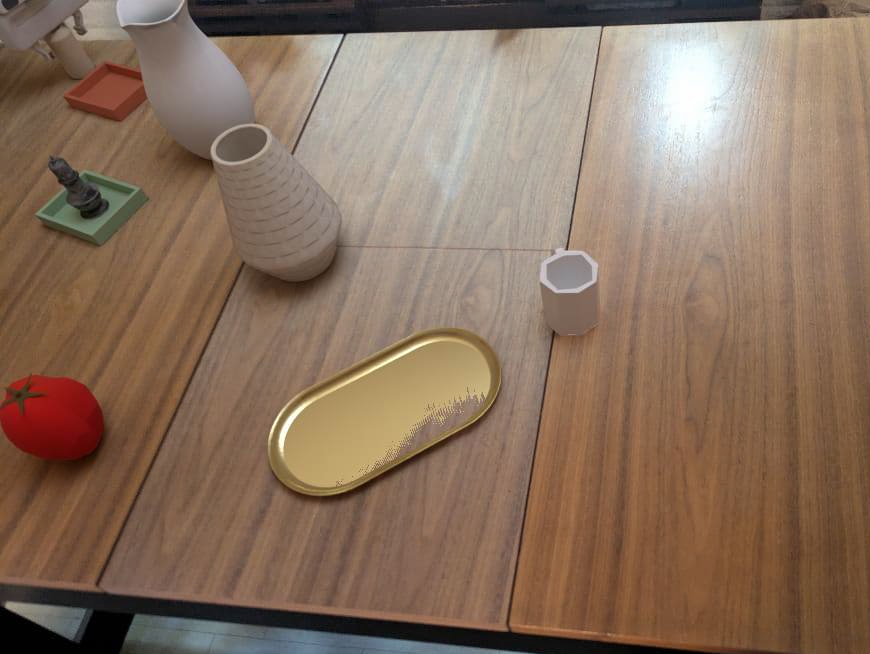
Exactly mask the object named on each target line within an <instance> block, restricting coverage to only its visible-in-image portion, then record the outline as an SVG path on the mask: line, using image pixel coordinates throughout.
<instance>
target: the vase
mask: <svg viewBox="0 0 870 654" xmlns="http://www.w3.org/2000/svg"><path fill="white" fill-rule="evenodd" d="M211 157H212V160H211V161H212V165H213V168H214V173H215V176H216V181H217V184H218V188H219V192H220V196H221V197H220V198H221V201H222V205H223V208H224V212H225V217H226V221H227V225H228V228H229V232H230V236H231V240H232V244H233V248H234V250H235V252H236V254H237V257H239V259H240V260H242V261H243V262H244V263H245V264H246V265H248V266H249V267H251V268H253V269H256V270H258V271H261V272H263V273H265V274H268V275H270V276H272V277H275V278H278V279H280V280H283V281H285V282H292V283H297V282H298V283H299V282H305V281H309V280H311V279H313V278H316V277H318V276H320V275H321V274H322V273H324V272H325V271H326V270H327V269H328V268H329V267H330V266H331V264H332V262H333V260H334V259H335V256H336V251H337V248H338V247H337V246H338V242H339V238H340V233H341V229H342V214H341V211H340V207H339V206H338V204H337V202H336V201H335V199H333V197H332V196H330V195H329V193H327V191H326V190H325V189H324V188H323V187H322V186H321V185H320V183H318V181H316V179H315V178H314V177H313V176H312V175H311V174H310V173H309V171H307V170H306V168H305V167H304V166H303V165H302V164H301V163H300V162H299V161H298V160H297V159H296V158H295V156H294V155H293V154H292V153H291V152H290V151H289V150H288V149H287V148H286V146H285V145H284V144H283V143H282V142H281V141H280V140H279V139H278V138H277V137H276V136H275V135H274V133H273V132H272V131H271V130H270V129H269V128H268V127H266V126H265V125H262V124H258V123H255V124H243V125H238V126H235V127H233V128H230V129H228V130H226V131H225V132H223V133H222V134H221V135H219V136H218V137H217V138H216V140H215V141H214V142H213V144H212V146H211Z"/></svg>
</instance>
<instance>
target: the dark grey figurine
mask: <svg viewBox="0 0 870 654" xmlns="http://www.w3.org/2000/svg"><path fill="white" fill-rule="evenodd" d="M47 164H48V165H47V167H48V169H49V170H50V171H51V172H52V174H53V175H54V176H55V177H56V179H57V183H58V184H59V185H61V186H63V188H64V187H65V188H66V189H67V190H68V192H69V193H68V194H67V196H66V202H67V203H68V204H69V205H71V206H73V207H74V208H76V209H78V210H81V211H80V215H81V217H82V218H84V219H88V220H89V219H95V218H98V217H100V216H102V215H103V214H104V213H105V212H106V211H107V210H108V208H109V202H108V201H107V200H106V199H103V198H101V194H100V191H99V187H98V186H97V185H96V184H94V183H84V182H83V180H82V179H81V178H80V177H79V174H80V172H79V171H77V170H74V169H73V168H72V166H71V165H70V164H69V163H68V162H67V161H66V159H65V158H63V157H55V156H54V155H49V161H48V163H47Z"/></svg>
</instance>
